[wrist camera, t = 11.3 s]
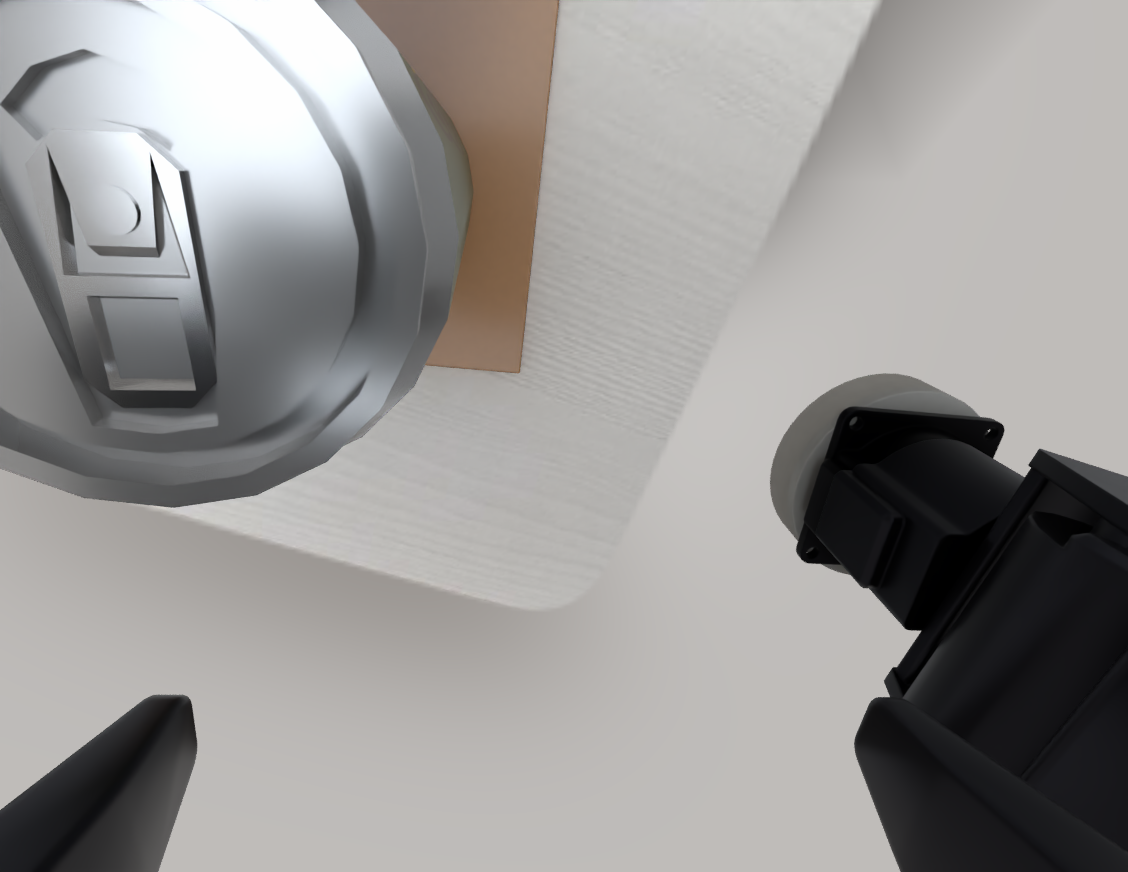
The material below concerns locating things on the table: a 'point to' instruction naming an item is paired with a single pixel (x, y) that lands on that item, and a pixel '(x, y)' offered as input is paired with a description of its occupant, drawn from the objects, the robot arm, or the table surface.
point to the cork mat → (485, 152)
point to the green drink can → (213, 241)
